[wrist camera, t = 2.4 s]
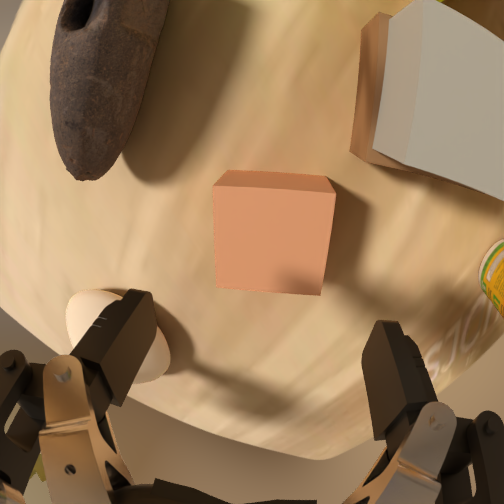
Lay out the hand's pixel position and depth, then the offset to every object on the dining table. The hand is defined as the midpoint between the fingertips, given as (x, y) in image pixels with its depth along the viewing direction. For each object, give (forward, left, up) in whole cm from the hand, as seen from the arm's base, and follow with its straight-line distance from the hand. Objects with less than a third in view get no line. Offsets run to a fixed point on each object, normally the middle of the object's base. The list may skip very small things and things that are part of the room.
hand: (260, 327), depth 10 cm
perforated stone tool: (-10, -10, -10) cm, 17 cm away
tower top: (-9, +8, -6) cm, 14 cm away
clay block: (0, 0, -10) cm, 10 cm away
